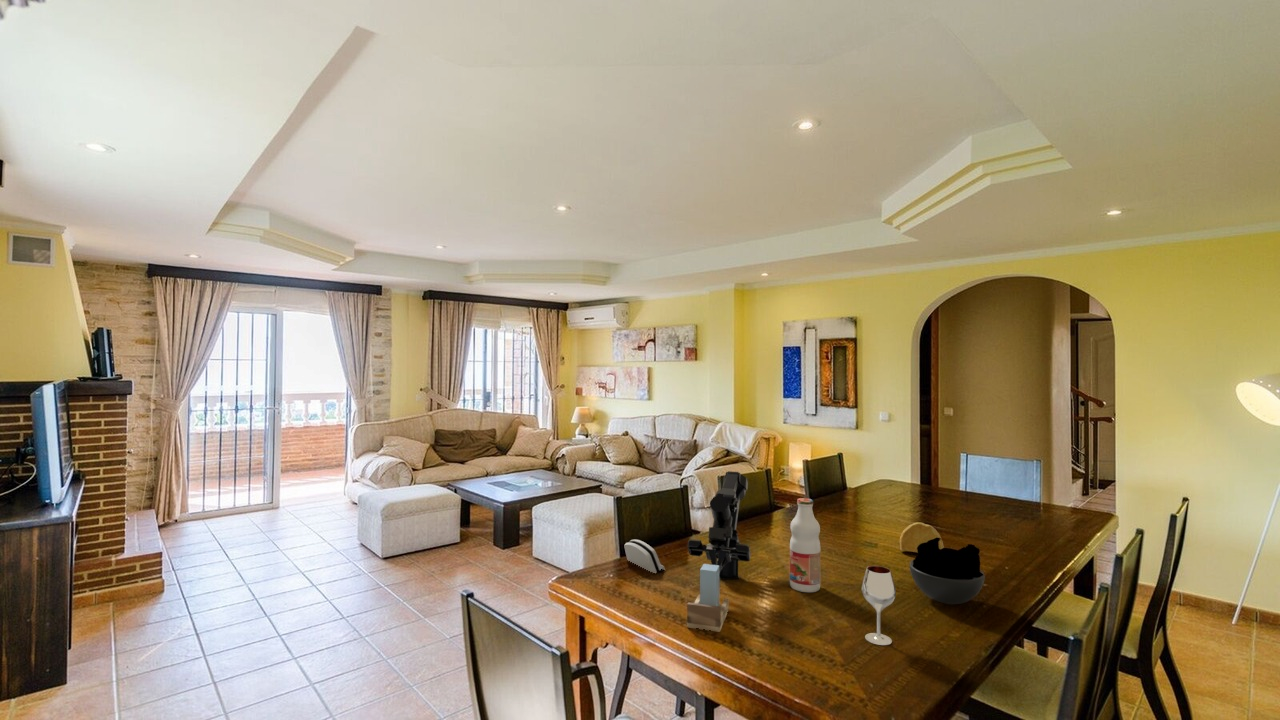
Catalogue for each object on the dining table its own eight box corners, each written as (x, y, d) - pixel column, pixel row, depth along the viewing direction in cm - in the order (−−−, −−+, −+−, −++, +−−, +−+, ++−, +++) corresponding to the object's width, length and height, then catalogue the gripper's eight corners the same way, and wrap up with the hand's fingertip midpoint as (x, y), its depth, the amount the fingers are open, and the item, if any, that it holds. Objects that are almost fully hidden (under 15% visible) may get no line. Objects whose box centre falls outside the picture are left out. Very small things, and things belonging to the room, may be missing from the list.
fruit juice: (824, 593, 179) (824, 503, 180) (793, 593, 179) (794, 502, 180) (815, 582, 189) (815, 496, 189) (786, 581, 189) (786, 496, 189)
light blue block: (703, 607, 165) (703, 563, 165) (719, 609, 164) (719, 565, 164) (699, 614, 160) (700, 569, 161) (715, 616, 159) (716, 571, 159)
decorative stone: (903, 537, 232) (896, 514, 225) (945, 537, 225) (939, 514, 217) (903, 566, 223) (896, 543, 216) (947, 567, 216) (940, 544, 208)
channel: (698, 605, 169) (698, 584, 169) (728, 609, 166) (728, 588, 167) (687, 627, 155) (687, 604, 155) (719, 632, 152) (719, 608, 153)
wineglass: (856, 632, 153) (856, 564, 153) (885, 631, 153) (885, 563, 153) (870, 647, 144) (871, 575, 145) (902, 646, 145) (902, 574, 145)
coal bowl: (894, 594, 179) (894, 533, 179) (940, 585, 186) (940, 527, 187) (952, 620, 160) (952, 553, 160) (1000, 609, 168) (1000, 544, 168)
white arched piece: (666, 571, 198) (658, 545, 196) (655, 578, 196) (647, 552, 194) (638, 557, 212) (631, 533, 210) (628, 564, 209) (620, 539, 208)
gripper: (688, 513, 178) (680, 560, 168) (749, 518, 173) (744, 567, 162) (693, 531, 186) (686, 577, 175) (752, 537, 180) (747, 585, 170)
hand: (715, 576), depth 170 cm, fingers closed
